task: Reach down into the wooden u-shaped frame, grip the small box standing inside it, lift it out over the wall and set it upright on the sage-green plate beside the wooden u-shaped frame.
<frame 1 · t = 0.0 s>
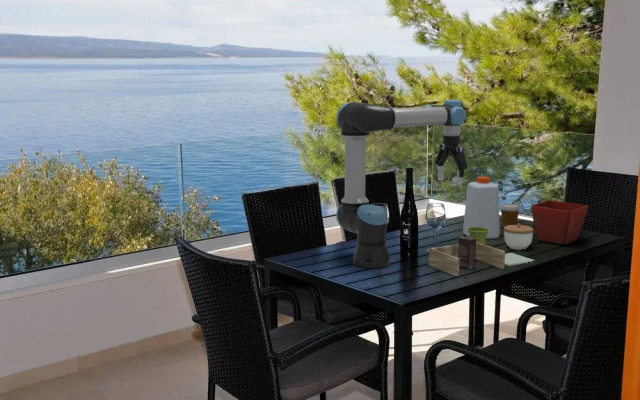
hand: (450, 182, 330), 28 cm above the table, tool pointing down, fingers open, 13 cm apart
plate: (510, 259, 306), on the table
wooden u-shaped frame: (466, 266, 296), on the table
plant pot: (557, 241, 339), on the table
disposable coffee cup: (509, 230, 363), on the table
plastic bottle: (480, 236, 349), on the table
box: (466, 267, 296), on the table
plant pot 2: (477, 248, 326), on the table
lidded bowl: (517, 248, 326), on the table
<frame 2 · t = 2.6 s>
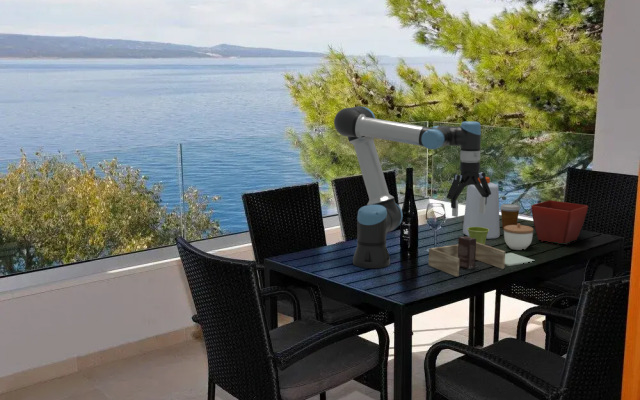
hand: (468, 214, 292), 21 cm above the table, tool pointing down, fingers open, 13 cm apart
nothing on the table moved.
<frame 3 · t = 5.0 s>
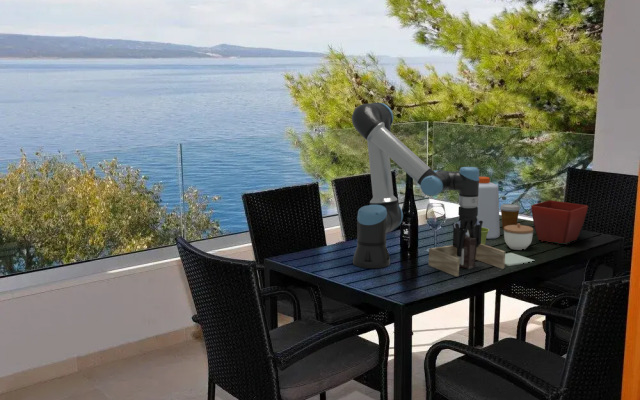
hand: (466, 263, 295), 2 cm above the table, tool pointing down, fingers closed on box, 5 cm apart
box: (466, 267, 296), on the table, touching gripper
everything else where it was.
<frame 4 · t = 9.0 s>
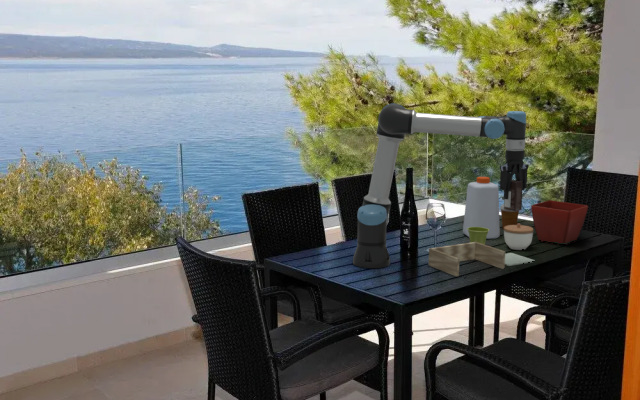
hand: (512, 206, 302), 23 cm above the table, tool pointing down, fingers closed on box, 5 cm apart
box: (512, 210, 302), point 21 cm above the table, touching gripper
everything else where it was.
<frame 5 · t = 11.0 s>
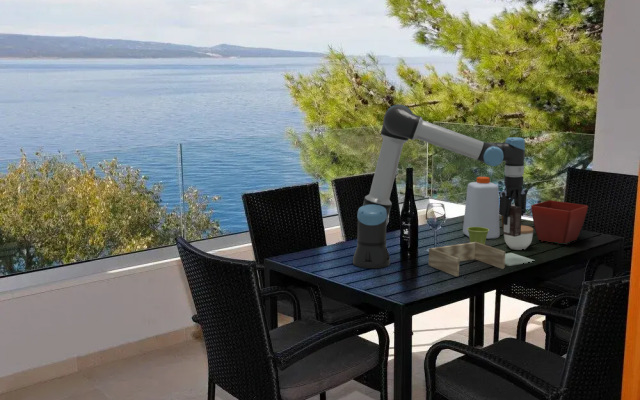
hand: (511, 231, 304), 12 cm above the table, tool pointing down, fingers closed on box, 5 cm apart
box: (512, 235, 304), point 10 cm above the table, touching gripper
everything else where it was.
when the fingers open (4 cm above the table, at t = 12.9 s): box drops 1 cm, resting on plate.
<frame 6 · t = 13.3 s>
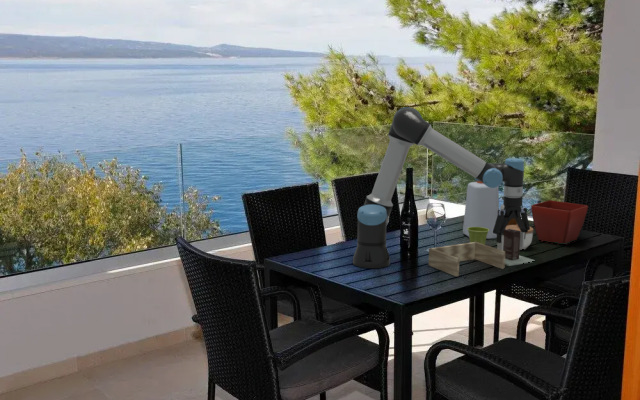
hand: (510, 248, 305), 5 cm above the table, tool pointing down, fingers open, 10 cm apart
box: (510, 258, 306), resting on plate
everything else where it was.
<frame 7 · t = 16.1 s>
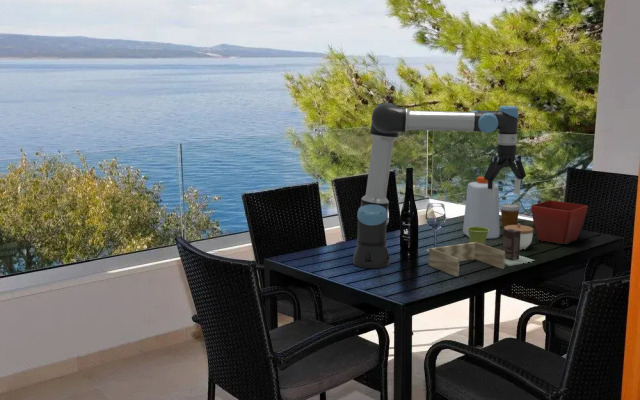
hand: (504, 195, 304), 27 cm above the table, tool pointing down, fingers open, 13 cm apart
nothing on the table moved.
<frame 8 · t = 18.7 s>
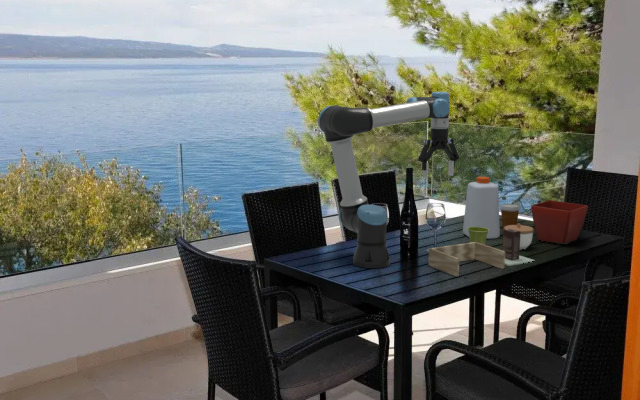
hand: (438, 176, 322), 32 cm above the table, tool pointing down, fingers open, 13 cm apart
nothing on the table moved.
at the end: box inside the target area on the plate (0.2 cm from its centre), point 0.4 cm above the plate's base; box tilted 0°; the gripper is holding nothing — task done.
